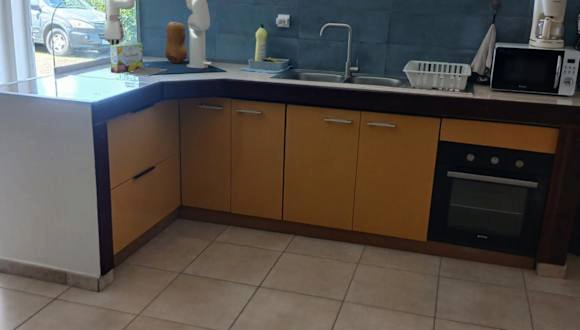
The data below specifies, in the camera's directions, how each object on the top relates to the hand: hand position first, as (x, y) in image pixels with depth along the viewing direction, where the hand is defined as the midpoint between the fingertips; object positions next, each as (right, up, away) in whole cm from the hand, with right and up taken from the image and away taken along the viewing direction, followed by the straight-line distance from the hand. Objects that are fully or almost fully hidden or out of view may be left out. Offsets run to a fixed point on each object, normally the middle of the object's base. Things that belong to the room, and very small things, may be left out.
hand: (114, 51), depth 338 cm
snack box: (+7, -11, +1) cm, 13 cm away
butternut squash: (+28, 0, +37) cm, 46 cm away
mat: (+18, -12, -1) cm, 22 cm away
